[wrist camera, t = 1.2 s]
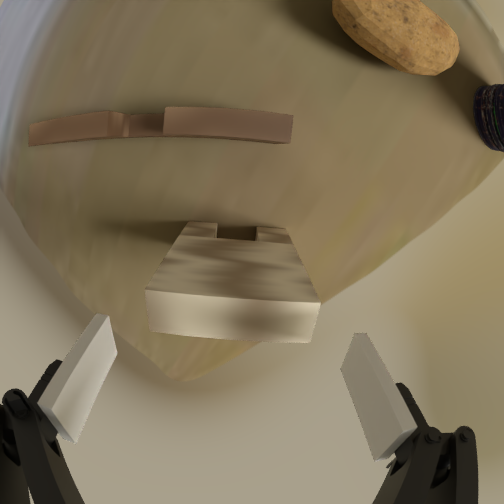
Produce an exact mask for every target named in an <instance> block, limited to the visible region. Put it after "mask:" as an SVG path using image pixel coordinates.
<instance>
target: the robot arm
mask: <svg viewBox="0 0 504 504" xmlns="http://www.w3.org/2000/svg"><path fill="white" fill-rule="evenodd" d="M116 355H117V350H116V346H115V342H114V338H113V333H112V329H111V324H110V320H109V315H104V314H99V313H96V315H95V316H94V317H93V319H92V320H91V322H90V323H89V324H88V326H87V327H86V328H85V330H84V331H83V333H82V334H81V336H80V337H79V338H78V340H77V341H76V343H75V344H74V346H73V347H72V349H71V350H70V352H69V353H68V354H67V356H66V357H65V359H64V361H60V360H55V361H54V362H53V363H52V364H50V365H49V366H48V368H47V369H46V371H45V374H43V375H42V377H41V380H39V381H38V383H37V385H36V386H35V388H34V389H33V391H32V393H31V394H30V396H29V397H28V398H27V396H26V395H25V393H24V392H23V391H22V390H19V389H11V390H9V391H7V392H6V393H5V395H4V397H3V399H2V403H3V405H1V404H0V504H30V498H29V491H28V487H29V490H30V493H31V496H32V499H33V501H34V504H85V503H84V501H83V499H82V497H81V495H80V493H79V491H78V489H77V487H76V485H75V483H74V481H73V478H72V476H71V474H70V471H69V469H68V467H67V464H66V462H65V459H64V456H63V454H62V451H61V448H60V446H59V443H58V440H57V439H56V435H57V433H59V434H60V436H61V437H62V438H63V439H65V440H68V441H70V442H73V443H75V444H77V441H78V439H79V436H80V434H81V431H82V429H83V427H84V424H85V422H86V420H87V417H88V415H89V412H90V410H91V408H92V406H93V404H94V401H95V399H96V397H97V395H98V393H99V390H100V388H101V386H102V384H103V382H104V380H105V378H106V375H107V373H108V371H109V369H110V367H111V365H112V363H113V361H114V359H115V357H116ZM341 372H342V374H343V377H344V379H345V382H346V385H347V387H348V390H349V393H350V395H351V398H352V400H353V403H354V406H355V409H356V411H357V414H358V417H359V419H360V422H361V425H362V428H363V431H364V433H365V436H366V439H367V442H368V445H369V448H370V450H371V453H372V456H373V459H374V462H376V461H380V460H383V459H387V458H389V457H390V456H391V455H392V454H393V453H395V455H396V458H395V459H394V460H393V461H391V462H390V463H389V464H388V465H387V467H386V468H389V467H390V466H391V467H390V470H389V472H388V474H387V476H386V478H385V480H384V482H383V484H382V486H381V488H380V490H379V492H378V494H377V496H376V498H375V500H374V502H373V504H478V462H477V449H476V440H475V434H474V432H473V430H472V429H470V428H469V427H467V426H461V427H459V428H458V429H457V430H456V431H455V432H454V433H441V432H440V431H439V430H438V429H436V428H435V427H429V425H428V424H427V422H426V420H425V419H424V416H423V414H422V413H421V411H420V409H419V407H418V406H417V404H416V402H415V400H414V398H413V397H412V394H411V393H410V391H409V389H408V388H407V387H406V386H405V385H404V384H402V383H396V384H395V383H394V381H393V379H392V377H391V375H390V373H389V372H388V370H387V368H386V366H385V364H384V363H383V361H382V359H381V357H380V356H379V354H378V352H377V350H376V349H375V347H374V345H373V344H372V342H371V340H370V338H369V337H368V335H367V333H355V334H354V336H353V339H352V341H351V344H350V347H349V349H348V352H347V354H346V357H345V359H344V362H343V364H342V366H341Z"/></svg>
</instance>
